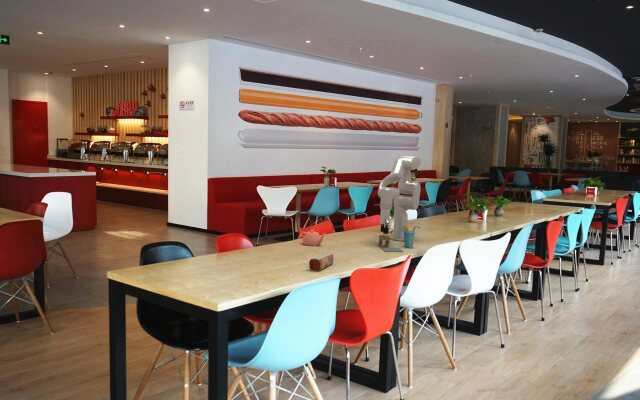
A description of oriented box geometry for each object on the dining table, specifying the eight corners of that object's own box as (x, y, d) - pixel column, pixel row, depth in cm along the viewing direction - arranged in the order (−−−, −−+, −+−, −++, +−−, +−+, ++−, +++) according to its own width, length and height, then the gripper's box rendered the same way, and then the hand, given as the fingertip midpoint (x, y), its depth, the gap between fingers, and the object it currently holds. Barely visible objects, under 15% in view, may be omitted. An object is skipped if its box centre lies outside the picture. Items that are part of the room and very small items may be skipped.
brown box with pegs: (378, 245, 374) (379, 235, 373) (387, 245, 375) (388, 235, 374) (380, 247, 368) (380, 236, 367) (389, 247, 369) (389, 236, 368)
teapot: (305, 241, 375) (306, 227, 374) (329, 245, 366) (330, 230, 365) (296, 244, 365) (296, 229, 364) (320, 248, 356) (321, 233, 355)
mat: (381, 248, 365) (381, 247, 365) (399, 248, 366) (399, 247, 366) (384, 251, 353) (384, 251, 353) (403, 252, 354) (403, 251, 354)
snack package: (323, 263, 312) (323, 251, 311) (334, 264, 310) (334, 252, 309) (308, 270, 292) (308, 257, 292) (320, 272, 290) (320, 259, 289)
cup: (421, 248, 370) (423, 225, 369) (415, 249, 364) (417, 226, 363) (403, 245, 379) (404, 223, 378) (397, 246, 373) (398, 224, 372)
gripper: (377, 205, 377) (376, 230, 378) (382, 207, 360) (381, 234, 361) (389, 206, 377) (387, 231, 379) (394, 208, 360) (392, 235, 362)
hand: (384, 232), depth 370 cm, fingers open, 9 cm apart
